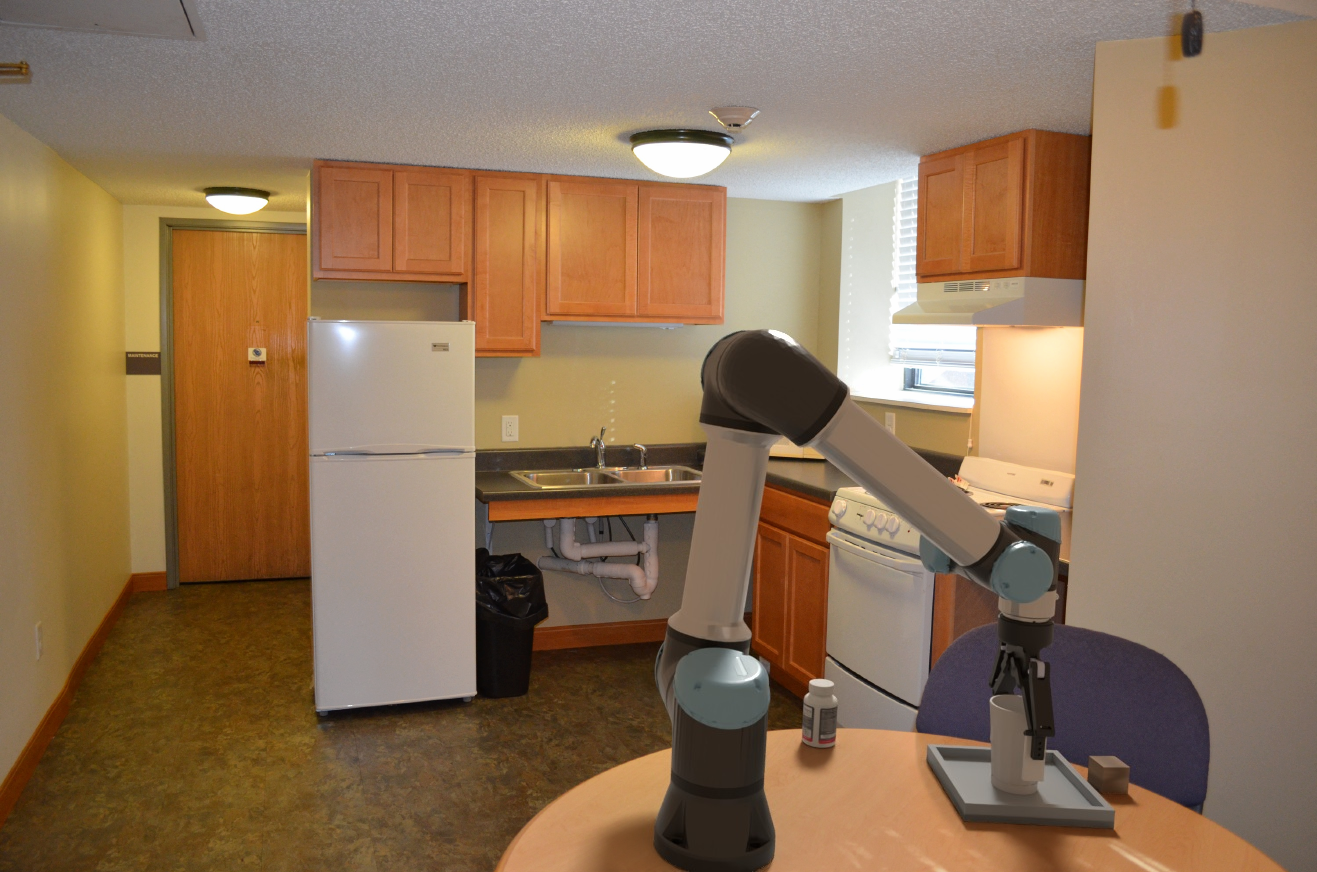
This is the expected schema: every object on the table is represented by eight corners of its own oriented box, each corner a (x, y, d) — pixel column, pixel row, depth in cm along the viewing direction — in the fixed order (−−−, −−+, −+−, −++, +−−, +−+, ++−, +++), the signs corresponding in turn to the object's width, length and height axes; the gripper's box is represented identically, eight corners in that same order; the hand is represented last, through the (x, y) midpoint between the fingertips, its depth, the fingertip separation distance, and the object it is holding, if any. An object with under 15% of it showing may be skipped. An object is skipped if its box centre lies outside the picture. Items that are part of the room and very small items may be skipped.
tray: (964, 820, 130) (965, 802, 130) (926, 759, 150) (927, 743, 150) (1113, 828, 130) (1115, 810, 130) (1056, 765, 150) (1057, 750, 150)
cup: (1048, 800, 135) (1054, 716, 134) (988, 793, 137) (994, 710, 136) (1037, 776, 143) (1043, 697, 142) (981, 770, 145) (986, 692, 144)
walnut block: (1101, 793, 141) (1103, 767, 141) (1087, 781, 145) (1089, 755, 145) (1127, 793, 141) (1129, 767, 141) (1112, 781, 145) (1114, 755, 145)
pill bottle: (836, 738, 157) (840, 679, 157) (834, 750, 152) (837, 690, 152) (803, 733, 159) (806, 675, 158) (799, 745, 154) (802, 685, 153)
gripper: (1089, 641, 126) (1076, 799, 127) (1021, 595, 150) (1011, 727, 152) (1031, 639, 126) (1019, 797, 127) (973, 592, 151) (963, 725, 152)
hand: (1015, 759), depth 140 cm, fingers open, 13 cm apart
